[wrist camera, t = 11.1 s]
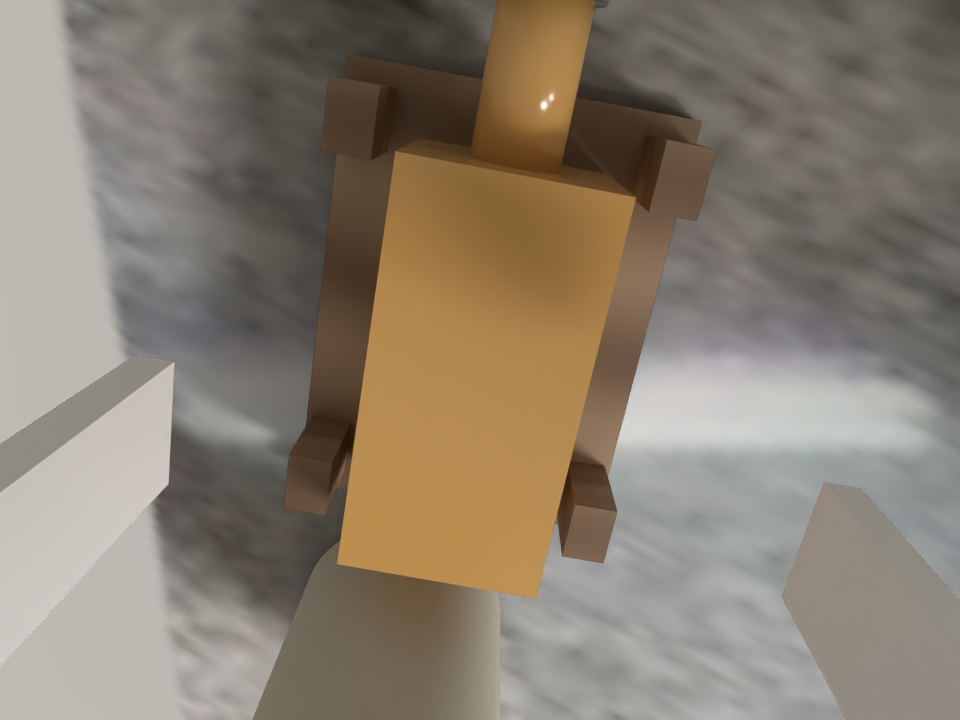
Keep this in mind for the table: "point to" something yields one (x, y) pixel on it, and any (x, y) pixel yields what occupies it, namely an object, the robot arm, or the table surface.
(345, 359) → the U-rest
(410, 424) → the amber bottle
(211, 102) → the table surface
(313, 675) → the travel mug
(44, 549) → the robot arm
